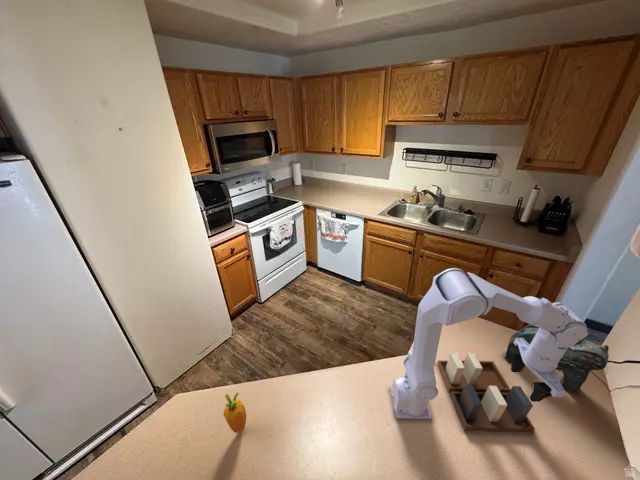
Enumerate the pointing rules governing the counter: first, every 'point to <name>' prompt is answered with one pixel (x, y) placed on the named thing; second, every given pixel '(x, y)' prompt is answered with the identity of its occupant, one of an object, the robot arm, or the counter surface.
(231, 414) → the carrot
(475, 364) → the cream book
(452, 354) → the cream book
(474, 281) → the robot arm
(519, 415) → the charcoal book
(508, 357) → the green mottled arch
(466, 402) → the charcoal book
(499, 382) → the shallow brown tray
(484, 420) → the dark wooden tray
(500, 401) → the cream book
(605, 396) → the counter surface
